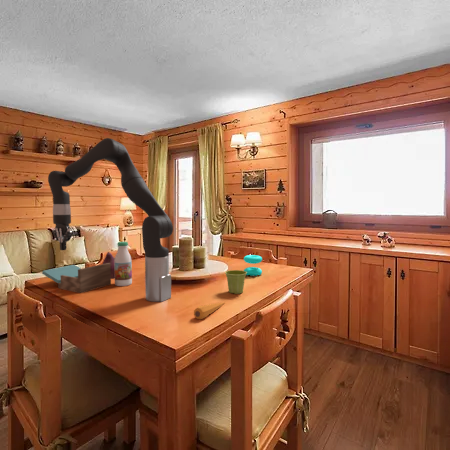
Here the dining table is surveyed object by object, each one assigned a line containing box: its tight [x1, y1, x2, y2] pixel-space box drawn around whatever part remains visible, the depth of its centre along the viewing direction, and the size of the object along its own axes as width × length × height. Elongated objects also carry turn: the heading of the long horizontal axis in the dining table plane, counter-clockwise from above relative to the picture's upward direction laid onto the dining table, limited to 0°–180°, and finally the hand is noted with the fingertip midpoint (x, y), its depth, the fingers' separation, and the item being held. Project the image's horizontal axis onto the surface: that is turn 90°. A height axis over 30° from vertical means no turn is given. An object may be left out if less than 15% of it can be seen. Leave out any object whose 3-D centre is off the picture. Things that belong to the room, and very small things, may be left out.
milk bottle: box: [114, 241, 133, 287], centre depth 142 cm, size 8×8×20 cm
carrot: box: [193, 302, 225, 320], centre depth 108 cm, size 20×4×4 cm, turn 153°
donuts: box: [243, 254, 263, 277], centre depth 164 cm, size 10×10×10 cm
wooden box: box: [57, 263, 112, 294], centre depth 139 cm, size 15×16×10 cm
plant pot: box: [224, 269, 247, 295], centre depth 131 cm, size 9×9×9 cm
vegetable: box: [102, 251, 115, 280], centre depth 156 cm, size 10×10×15 cm
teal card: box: [41, 264, 82, 284], centre depth 145 cm, size 2×16×12 cm
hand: (63, 250), depth 145 cm, fingers closed
